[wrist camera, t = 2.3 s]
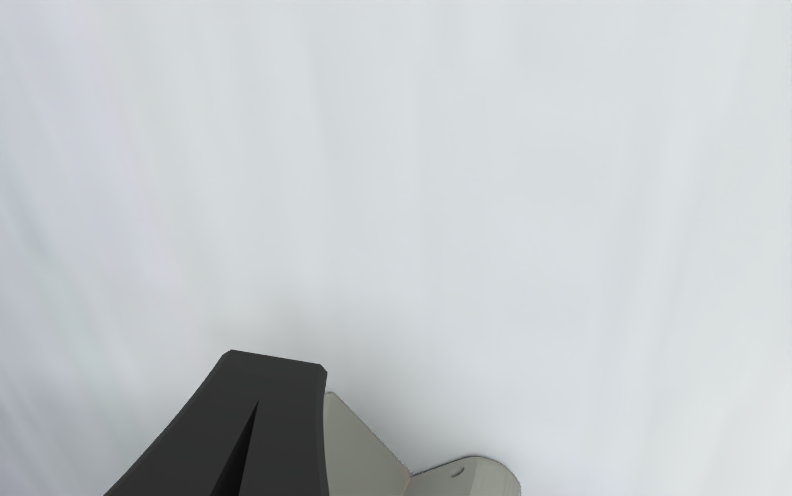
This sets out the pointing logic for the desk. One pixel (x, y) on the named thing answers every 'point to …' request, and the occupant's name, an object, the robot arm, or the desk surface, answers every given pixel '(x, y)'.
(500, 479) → the digital clock
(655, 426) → the desk surface
